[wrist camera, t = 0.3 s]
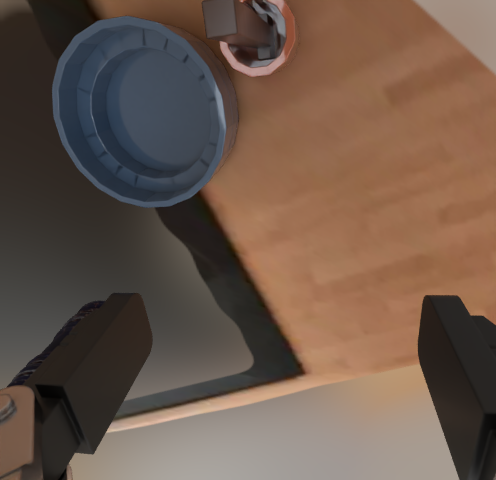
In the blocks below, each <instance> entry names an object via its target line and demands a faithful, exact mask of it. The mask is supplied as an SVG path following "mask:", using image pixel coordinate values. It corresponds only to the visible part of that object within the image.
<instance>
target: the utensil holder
mask: <svg viewBox="0 0 496 480" xmlns="http://www.w3.org/2000/svg"><path fill="white" fill-rule="evenodd" d="M239 1H240V2H242V3H243V4H244V5H245V6H247V7H248V8H249V9H250V10H252V11H253V12H254V13H255V14H257V15H258V14H265V13H267V14H268V15H269V16H270V17H271V18H272V19H273V29H274V42H275V55H276V58H275V59H268V60H258V52H257V48H251V47H246V46H241V45H236V44H231V43H226V42H222V41H219V42H220V50H221V52H222V54H223V55H224V57H225V58H226V59H227V61H228V62H229V64H230V65H231V67H232V68H233V69H235V70H237V71H239V72H241V73H243V74H245V75H247V76H249V77H256V76H264V75H270V74H274V73H277V72H280V71H281V70H282V69H283V68H285V67H286V66H287V65H288V64H290V63H291V62H292V61H293V59H294V57H295V55H296V53H297V50H298V47H299V44H300V42H299V26H298V24H297V21H296V19H295V17H294V15H293V14H292V12H291V10H290V9H289V7H288V5H287V4H286V2H285V0H239Z"/></svg>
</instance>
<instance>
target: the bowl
mask: <svg viewBox="0 0 496 480" xmlns="http://www.w3.org/2000/svg"><path fill="white" fill-rule="evenodd" d="M52 97H53V116H54V120H55V123H56V126H57V129H58V132H59V135H60V138H61V142H62V144H63V146H64V147H65V149H66V151H67V152H68V154H69V156H70V157H71V159H72V160H73V162H74V164H75V165H76V167H77V168H78V169H79V171H81V172H82V173H83V174H84V175H85V176H86V177H87V178H88V179H89V180H90V181H91V182H92V183H93V184H94V185H95V186H96V187H97V188H98V189H100V190H102V191H103V192H105V193H107V194H109V195H111V196H112V197H114V198H116V199H118V200H119V201H121V202H125V203H129V204H133V205H137V206H141V207H146V208H147V207H165V206H171V205H174V204H176V203H179V202H181V201H184V200H186V199H188V198H191V197H192V196H193V195H194V194H196V193H197V192H198V191H199V190H200V189H201V188H202V187H203V186H204V185H205V184H207V183H208V182H209V181H210V180H211V178H212V177H213V176H214V175H215V174H216V173H217V172H218V171H219V169H220V168H221V167H222V166H223V165H224V163H225V161H226V159H227V157H228V155H229V154H230V152H231V150H232V148H233V146H234V143H235V138H236V132H237V126H238V121H239V120H238V119H239V117H238V109H237V100H236V93H235V90H234V87H233V85H232V83H231V81H230V78H229V76H228V74H227V71H226V69H225V67H224V65H223V64H222V62H221V61H220V60H219V59H218V58H217V57H216V55H215V54H214V53H213V52H212V51H211V49H210V48H209V47H208V46H207V45H206V44H205V43H204V42H203V41H201V40H199V39H198V38H196V37H195V36H193V35H192V34H190V33H188V32H187V31H185V30H184V29H182V28H179V27H175V26H171V25H167V24H163V23H159V22H154V21H150V20H145V19H141V18H136V17H132V16H122V17H116V18H110V19H104V20H99V21H97V22H96V23H94V24H92V25H91V26H89V27H88V28H86V29H85V30H83V31H82V32H80V33H79V34H77V35H76V36H75V37H74V38H73V40H72V41H71V42H70V44H69V45H68V47H67V48H66V50H65V51H64V53H63V54H62V56H61V57H60V59H59V61H58V65H57V69H56V73H55V77H54V81H53V85H52Z"/></svg>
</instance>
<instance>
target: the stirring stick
mask: <svg viewBox="0 0 496 480" xmlns="http://www.w3.org/2000/svg"><path fill="white" fill-rule="evenodd" d="M202 9H203V16H204V23H205V30H206V36H207V38H208V39H212V40H217V41H222V42H226V43H231V44H236V45H241V46H246V47H251V48H257V52H258V60H268V59H275V58H276V55H275V42H274V29H273V19H272V18H271V17H270V16H269V15H268V14H267V13H265V14H258V15H257V14H255V13H254V12H253V11H252V10H250V9H249V8H248V7H247V6H245V5H244V4H243V3H242V2H240V1H239V0H205V1H202Z"/></svg>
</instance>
